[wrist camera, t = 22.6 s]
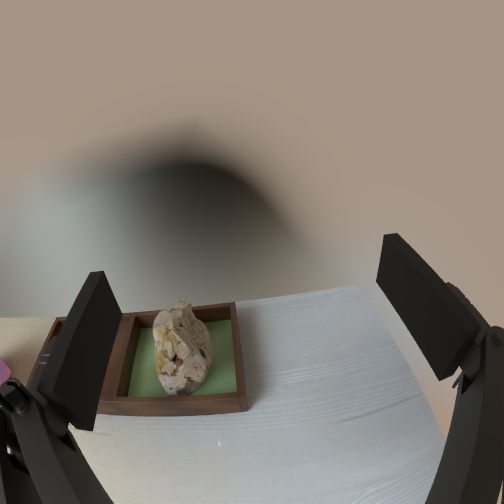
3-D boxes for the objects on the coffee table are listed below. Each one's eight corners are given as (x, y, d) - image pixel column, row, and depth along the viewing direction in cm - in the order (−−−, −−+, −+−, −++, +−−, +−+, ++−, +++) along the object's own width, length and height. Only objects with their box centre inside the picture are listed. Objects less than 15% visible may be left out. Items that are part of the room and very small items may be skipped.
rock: (216, 401, 31) (188, 330, 28) (165, 405, 31) (133, 338, 29) (226, 349, 42) (207, 289, 40) (185, 355, 43) (164, 297, 41)
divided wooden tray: (237, 319, 46) (234, 301, 44) (248, 411, 32) (244, 396, 30) (65, 332, 44) (56, 317, 42) (37, 405, 30) (23, 391, 28)
